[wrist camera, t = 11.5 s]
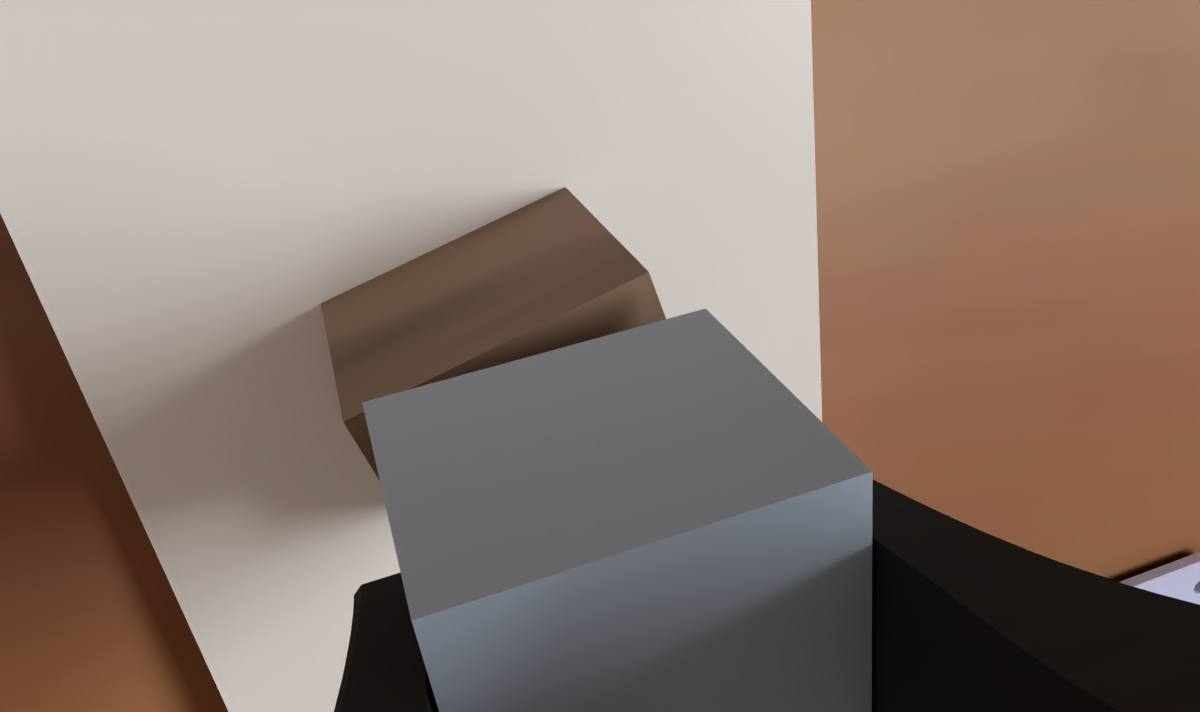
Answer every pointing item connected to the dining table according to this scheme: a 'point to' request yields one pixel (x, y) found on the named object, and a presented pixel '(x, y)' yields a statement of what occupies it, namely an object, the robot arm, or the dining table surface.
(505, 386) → the slate block
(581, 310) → the walnut block
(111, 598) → the dining table surface
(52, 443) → the dining table surface
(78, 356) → the baseplate
